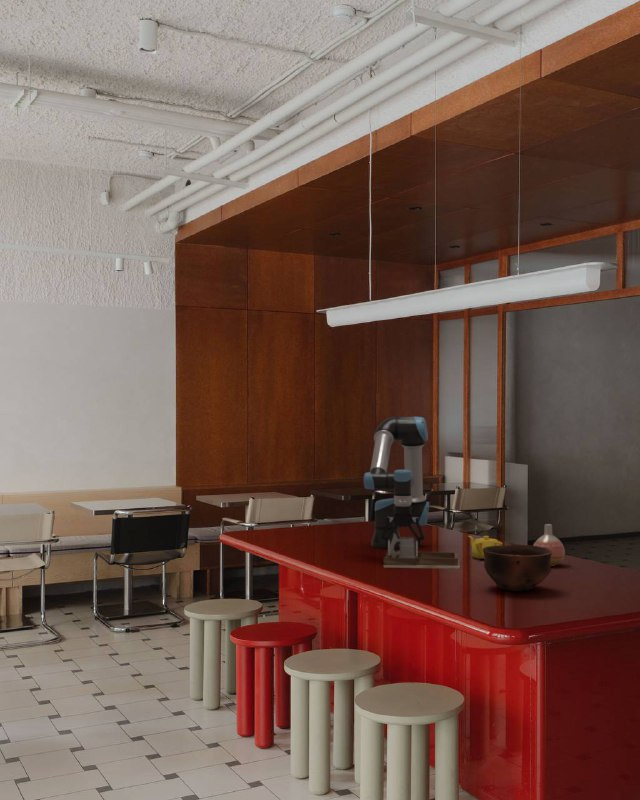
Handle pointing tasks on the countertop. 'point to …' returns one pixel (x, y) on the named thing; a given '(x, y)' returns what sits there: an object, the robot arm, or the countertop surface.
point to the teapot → (482, 545)
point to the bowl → (517, 566)
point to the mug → (403, 547)
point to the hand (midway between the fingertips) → (402, 555)
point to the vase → (551, 545)
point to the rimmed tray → (424, 560)
